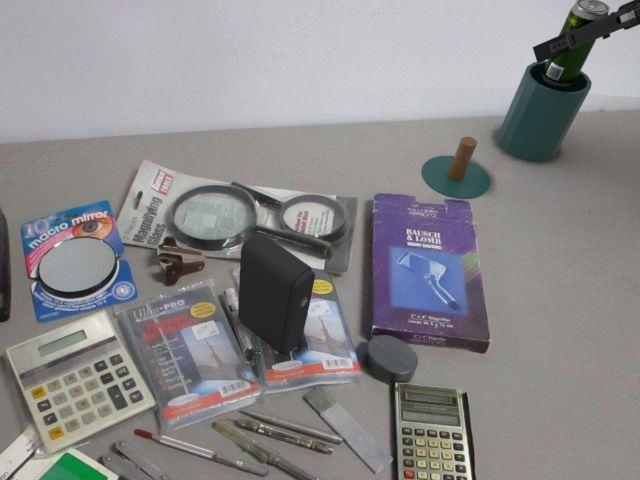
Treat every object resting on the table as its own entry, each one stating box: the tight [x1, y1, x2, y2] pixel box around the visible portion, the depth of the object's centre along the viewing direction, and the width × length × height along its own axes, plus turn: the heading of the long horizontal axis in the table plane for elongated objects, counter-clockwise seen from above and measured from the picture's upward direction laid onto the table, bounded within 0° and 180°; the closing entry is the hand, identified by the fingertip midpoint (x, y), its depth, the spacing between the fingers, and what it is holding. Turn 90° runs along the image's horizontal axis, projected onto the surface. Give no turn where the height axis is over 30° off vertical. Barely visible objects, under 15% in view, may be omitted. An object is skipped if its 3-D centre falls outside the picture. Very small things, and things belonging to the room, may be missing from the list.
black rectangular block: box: [237, 233, 316, 356], centre depth 74 cm, size 9×4×15 cm, turn 45°
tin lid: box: [421, 136, 490, 200], centre depth 99 cm, size 11×11×8 cm
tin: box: [496, 60, 592, 163], centre depth 103 cm, size 10×10×14 cm
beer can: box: [542, 0, 611, 87], centre depth 94 cm, size 5×5×12 cm
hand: (547, 49), depth 98 cm, fingers closed on beer can, 5 cm apart
